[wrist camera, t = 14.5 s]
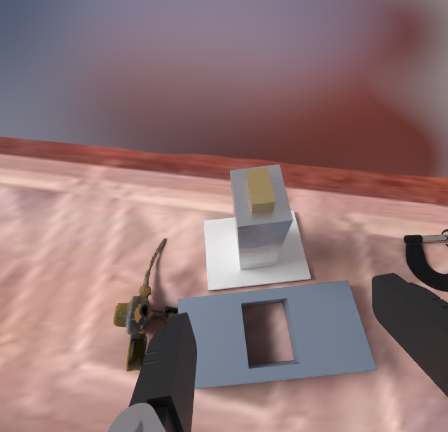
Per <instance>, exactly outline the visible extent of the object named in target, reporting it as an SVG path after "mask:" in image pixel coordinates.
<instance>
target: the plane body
mask: <svg viewBox="0 0 448 432" xmlns="http://www.w3.org/2000/svg"><path fill="white" fill-rule="evenodd" d="M276 302H283V304H284V309H285V315H286V320H287V325H288V330H289V335H290V340H291V345H292V350H293V355H294V361H284V362H274V363H265V364H255V365H248V358H247V349H246V341H245V333H244V325H243V316H242V308H241V306H249V305H258V304H267V303H276ZM184 312H187V313H188V315H189V319H190V322H191V326H192V329H193V332H194V336H195V339H196V344H197V364H196V377H195V389H198V388H208V387H218V386H228V385H237V384H247V383H257V382H267V381H277V380H286V379H296V378H306V377H316V376H325V375H335V374H345V373H355V372H365V371H374V370H377V369H376V366H375V362H374V359H373V356H372V353H371V350H370V347H369V344H368V341H367V338H366V335H365V331H364V328H363V325H362V322H361V319H360V316H359V313H358V310H357V307H356V304H355V300H354V297H353V294H352V291H351V288H350V285H349V282H348V280H346V281H337V282H328V283H319V284H310V285H301V286H292V287H283V288H274V289H265V290H257V291H248V292H239V293H230V294H221V295H212V296H203V297H194V298H185V299H178V314H179V313H184Z"/></svg>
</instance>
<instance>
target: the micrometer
mask: <svg viewBox="0 0 448 432" xmlns="http://www.w3.org/2000/svg"><path fill="white" fill-rule="evenodd" d="M444 241H445V243H446V245H447V246H448V229H447V230H444V231H443V232H442V235H425V236H421V235H406V236H405V237H404V242H405V243H406V244H407V245H406V260H407V264H408V266H409V268H410V270H411V271H412V272H413V274H414V275H415V276H416V277H417V278H418V279H419V280H421V281H422V282H423V283H425V284H426V285H428V286H430V287H432V288H434V289H437V290H440V291H445V292H448V274H440V273H438V272H436V271H434V270H433V269H432V268H431V267H430V266H429V265H428V263H427V261H426V258H425V254H424V251H423V248H422V244H421V243H422V242H444Z"/></svg>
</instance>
